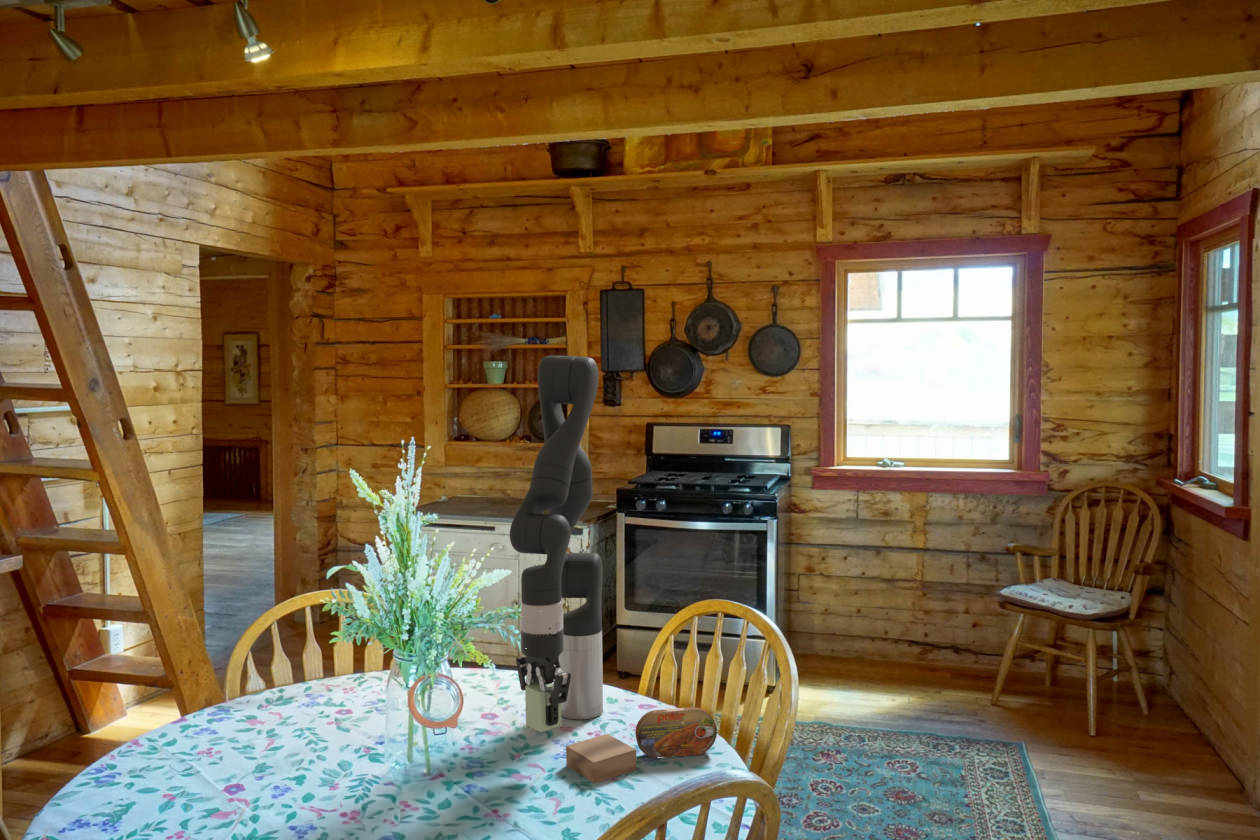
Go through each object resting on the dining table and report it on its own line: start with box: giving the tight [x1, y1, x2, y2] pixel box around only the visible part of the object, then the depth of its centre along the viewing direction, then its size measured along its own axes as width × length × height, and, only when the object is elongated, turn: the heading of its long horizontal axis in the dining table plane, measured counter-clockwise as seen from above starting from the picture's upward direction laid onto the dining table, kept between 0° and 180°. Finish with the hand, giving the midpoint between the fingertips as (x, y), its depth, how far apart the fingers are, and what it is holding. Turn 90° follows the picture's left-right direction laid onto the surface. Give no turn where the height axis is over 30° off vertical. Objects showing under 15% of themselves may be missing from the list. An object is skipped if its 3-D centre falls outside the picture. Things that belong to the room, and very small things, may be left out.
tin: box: [635, 706, 718, 759], centre depth 175 cm, size 15×3×8 cm, turn 99°
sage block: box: [524, 682, 562, 733], centre depth 168 cm, size 4×4×7 cm
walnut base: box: [565, 733, 637, 784], centre depth 169 cm, size 9×9×4 cm
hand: (543, 720), depth 169 cm, fingers closed on sage block, 4 cm apart
